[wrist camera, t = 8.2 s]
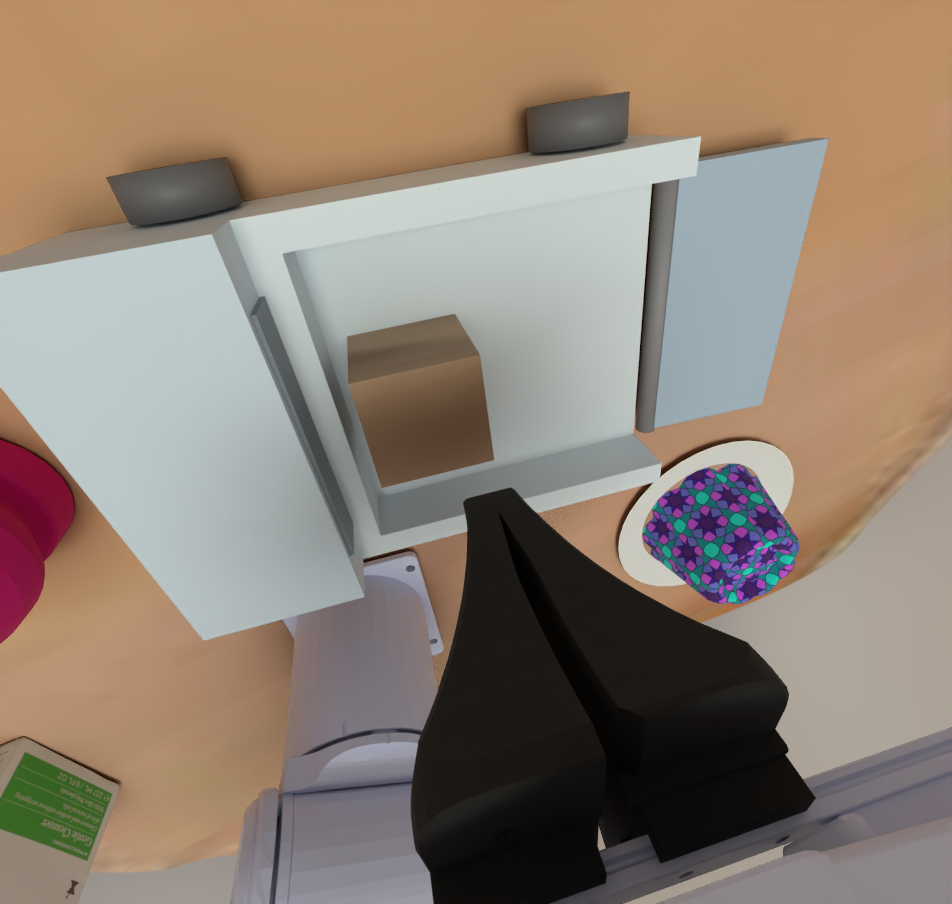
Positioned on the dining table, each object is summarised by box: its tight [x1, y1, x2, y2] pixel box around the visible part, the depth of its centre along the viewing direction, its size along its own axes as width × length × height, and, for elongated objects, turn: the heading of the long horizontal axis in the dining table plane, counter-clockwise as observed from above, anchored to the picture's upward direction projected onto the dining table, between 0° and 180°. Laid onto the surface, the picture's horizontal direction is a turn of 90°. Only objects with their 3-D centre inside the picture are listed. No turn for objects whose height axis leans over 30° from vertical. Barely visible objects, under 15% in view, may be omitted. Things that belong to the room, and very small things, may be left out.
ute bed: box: [0, 92, 701, 641], centre depth 18 cm, size 16×19×6 cm
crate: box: [347, 314, 494, 488], centre depth 17 cm, size 4×4×4 cm
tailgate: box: [636, 138, 829, 433], centre depth 20 cm, size 11×6×1 cm, turn 8°
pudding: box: [618, 441, 799, 604], centre depth 29 cm, size 12×12×5 cm
